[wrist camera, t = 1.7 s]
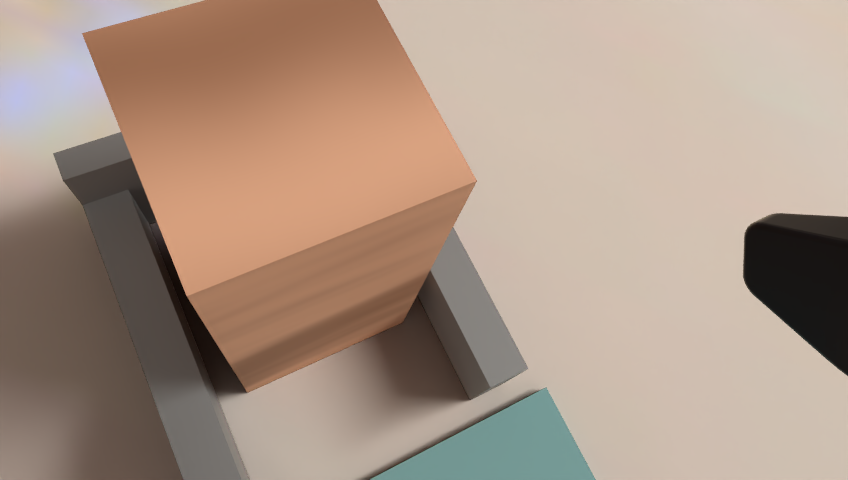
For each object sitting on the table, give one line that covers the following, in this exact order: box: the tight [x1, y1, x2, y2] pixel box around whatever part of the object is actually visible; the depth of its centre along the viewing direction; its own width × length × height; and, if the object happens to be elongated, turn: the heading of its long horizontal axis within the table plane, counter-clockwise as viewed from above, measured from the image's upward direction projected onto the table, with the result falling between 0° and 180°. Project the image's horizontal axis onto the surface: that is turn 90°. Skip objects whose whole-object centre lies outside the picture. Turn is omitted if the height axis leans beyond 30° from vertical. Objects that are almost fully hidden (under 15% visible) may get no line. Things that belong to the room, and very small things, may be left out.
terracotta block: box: [82, 0, 477, 393], centre depth 16 cm, size 5×5×10 cm
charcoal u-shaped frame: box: [53, 132, 528, 480], centre depth 18 cm, size 10×9×4 cm
